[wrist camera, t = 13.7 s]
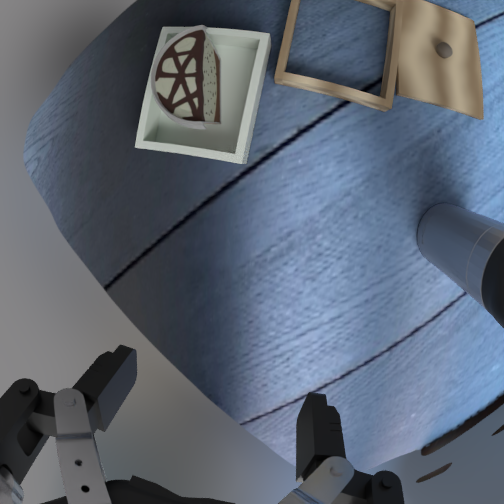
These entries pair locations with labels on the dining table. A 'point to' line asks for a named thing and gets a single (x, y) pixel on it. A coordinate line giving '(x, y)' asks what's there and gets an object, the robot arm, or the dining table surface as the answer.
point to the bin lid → (439, 59)
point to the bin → (232, 100)
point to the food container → (188, 79)
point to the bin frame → (391, 3)
